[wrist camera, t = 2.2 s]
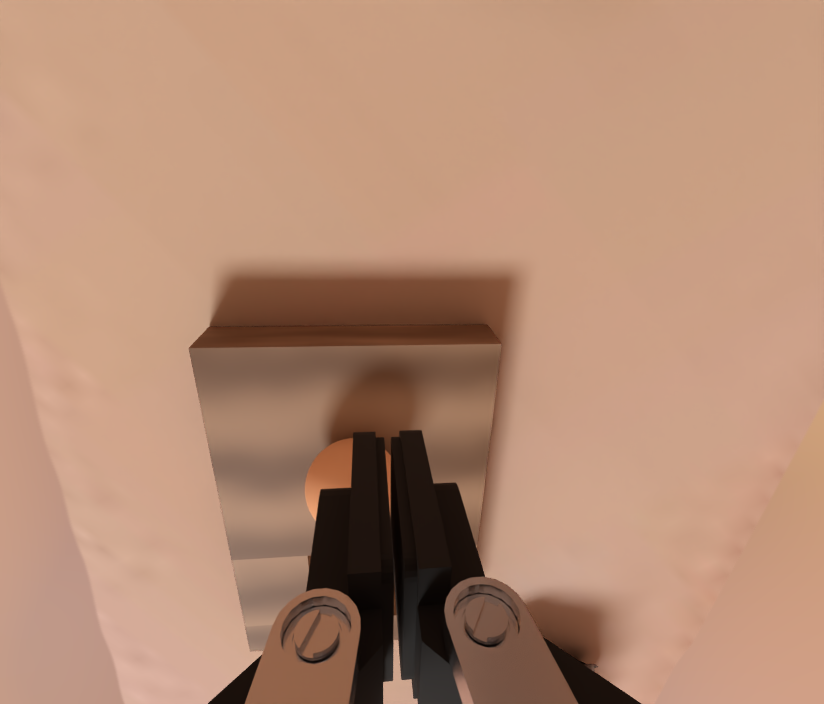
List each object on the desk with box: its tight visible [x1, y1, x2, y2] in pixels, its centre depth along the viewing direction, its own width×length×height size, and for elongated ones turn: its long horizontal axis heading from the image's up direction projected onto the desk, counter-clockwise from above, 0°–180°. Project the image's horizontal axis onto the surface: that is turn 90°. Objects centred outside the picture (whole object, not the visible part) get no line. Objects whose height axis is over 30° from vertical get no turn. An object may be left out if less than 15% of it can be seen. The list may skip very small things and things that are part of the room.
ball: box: [305, 438, 391, 521], centre depth 23 cm, size 5×5×5 cm
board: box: [189, 324, 502, 652], centre depth 28 cm, size 24×16×3 cm, turn 178°
